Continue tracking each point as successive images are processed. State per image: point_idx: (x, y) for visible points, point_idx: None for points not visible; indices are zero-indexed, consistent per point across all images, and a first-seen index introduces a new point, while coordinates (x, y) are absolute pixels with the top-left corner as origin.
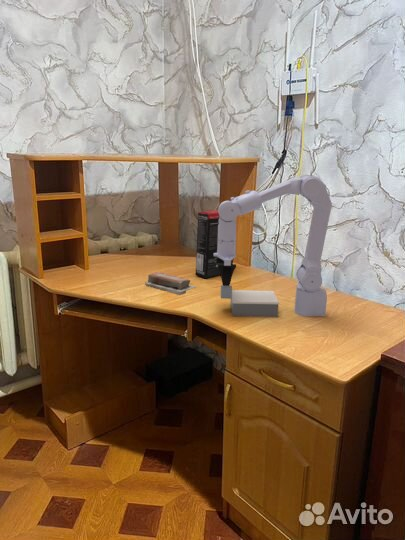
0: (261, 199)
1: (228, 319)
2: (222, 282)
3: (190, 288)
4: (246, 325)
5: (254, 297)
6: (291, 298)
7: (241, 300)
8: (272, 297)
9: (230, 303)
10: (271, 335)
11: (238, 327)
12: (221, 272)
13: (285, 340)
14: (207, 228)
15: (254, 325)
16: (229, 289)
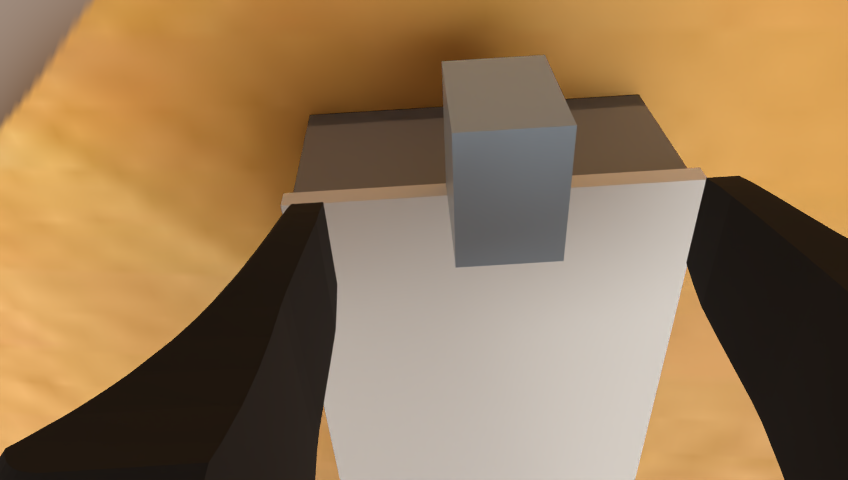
0: None
1: (272, 77)
2: (272, 232)
3: None
4: (177, 216)
5: (449, 377)
6: (746, 472)
7: (339, 282)
8: (462, 478)
9: (643, 107)
10: (56, 349)
11: (110, 159)
12: (144, 375)
13: (15, 404)
14: None
15: (197, 266)
16: (452, 224)
